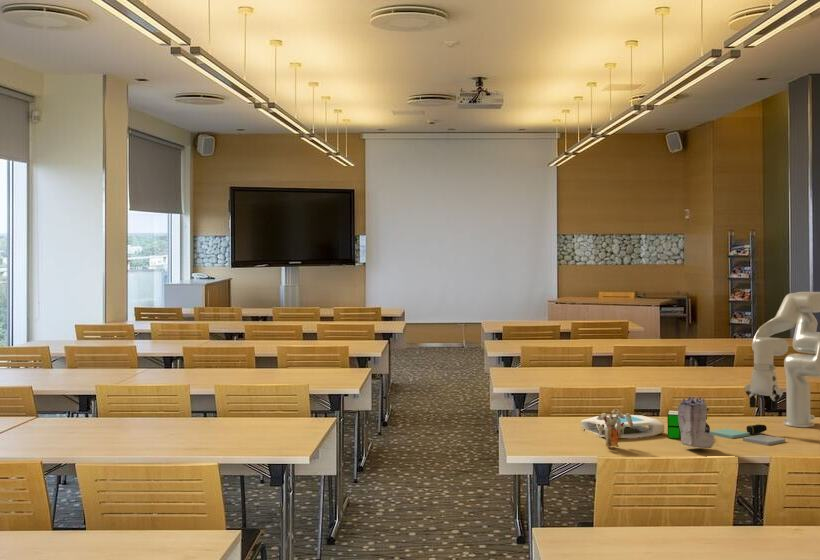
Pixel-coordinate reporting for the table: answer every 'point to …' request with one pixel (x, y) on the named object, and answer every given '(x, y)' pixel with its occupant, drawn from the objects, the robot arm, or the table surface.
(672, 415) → the puzzle cube
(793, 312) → the robot arm
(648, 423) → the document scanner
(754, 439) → the slate board
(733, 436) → the teal board
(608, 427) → the voxel character
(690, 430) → the cell model
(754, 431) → the tape measure
